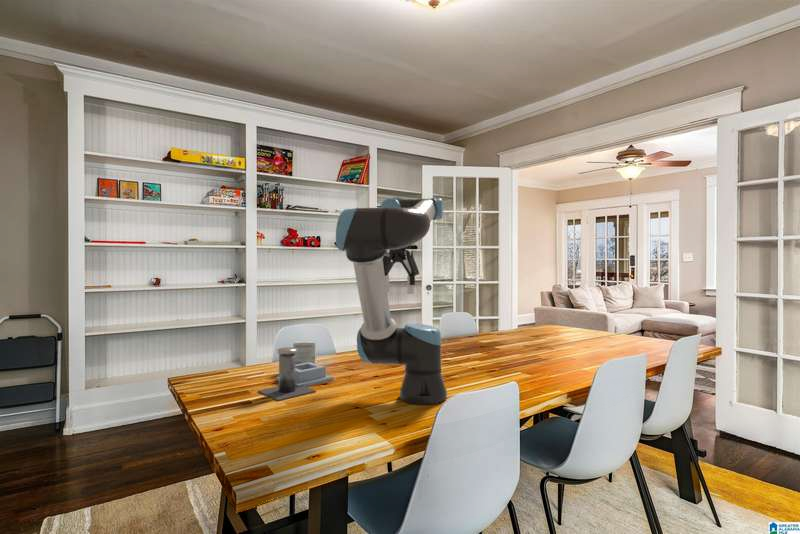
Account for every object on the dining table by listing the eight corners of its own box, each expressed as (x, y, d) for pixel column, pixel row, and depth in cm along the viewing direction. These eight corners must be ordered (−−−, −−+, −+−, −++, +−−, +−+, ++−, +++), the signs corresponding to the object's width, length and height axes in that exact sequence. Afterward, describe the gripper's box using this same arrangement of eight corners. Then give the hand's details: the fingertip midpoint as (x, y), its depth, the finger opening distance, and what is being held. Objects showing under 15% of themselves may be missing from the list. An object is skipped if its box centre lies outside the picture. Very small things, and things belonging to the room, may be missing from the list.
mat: (316, 391, 147) (316, 390, 147) (278, 401, 137) (278, 399, 137) (294, 383, 157) (294, 382, 157) (257, 391, 147) (257, 390, 147)
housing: (333, 380, 161) (333, 366, 161) (297, 388, 150) (297, 374, 150) (311, 372, 172) (311, 360, 172) (276, 380, 161) (276, 366, 161)
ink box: (317, 369, 178) (316, 340, 178) (315, 372, 173) (314, 342, 173) (295, 369, 177) (295, 340, 177) (293, 372, 172) (293, 343, 172)
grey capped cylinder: (300, 390, 147) (300, 349, 146) (283, 394, 142) (283, 352, 142) (291, 386, 151) (291, 346, 151) (273, 390, 147) (274, 349, 147)
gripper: (428, 237, 161) (428, 294, 162) (383, 239, 179) (383, 291, 180) (414, 236, 156) (414, 295, 156) (369, 239, 174) (369, 292, 174)
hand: (398, 293), depth 168 cm, fingers open, 13 cm apart
